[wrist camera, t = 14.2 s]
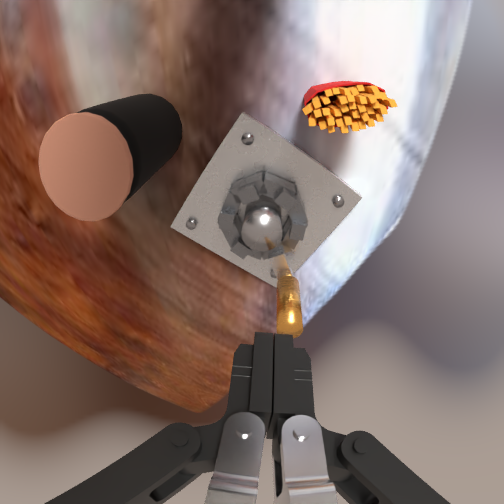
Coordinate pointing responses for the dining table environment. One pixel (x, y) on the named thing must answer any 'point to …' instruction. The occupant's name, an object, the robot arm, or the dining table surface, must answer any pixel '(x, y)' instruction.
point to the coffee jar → (107, 153)
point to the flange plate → (275, 165)
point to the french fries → (346, 105)
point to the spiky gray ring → (291, 234)
